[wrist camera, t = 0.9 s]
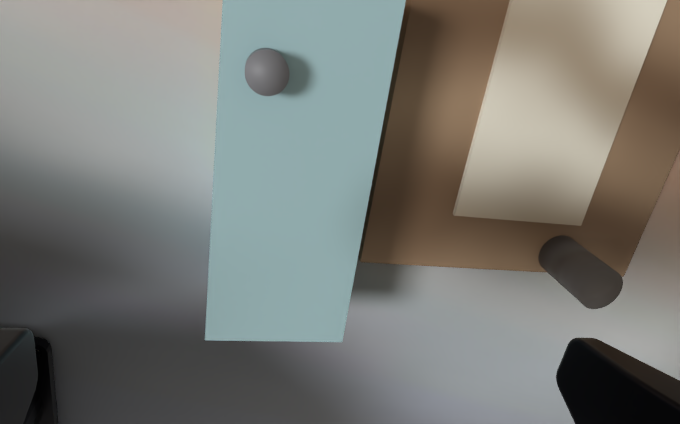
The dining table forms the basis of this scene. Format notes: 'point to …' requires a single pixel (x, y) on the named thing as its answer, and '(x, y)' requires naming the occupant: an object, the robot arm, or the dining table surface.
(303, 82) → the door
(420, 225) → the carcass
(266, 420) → the dining table surface
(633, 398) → the robot arm
